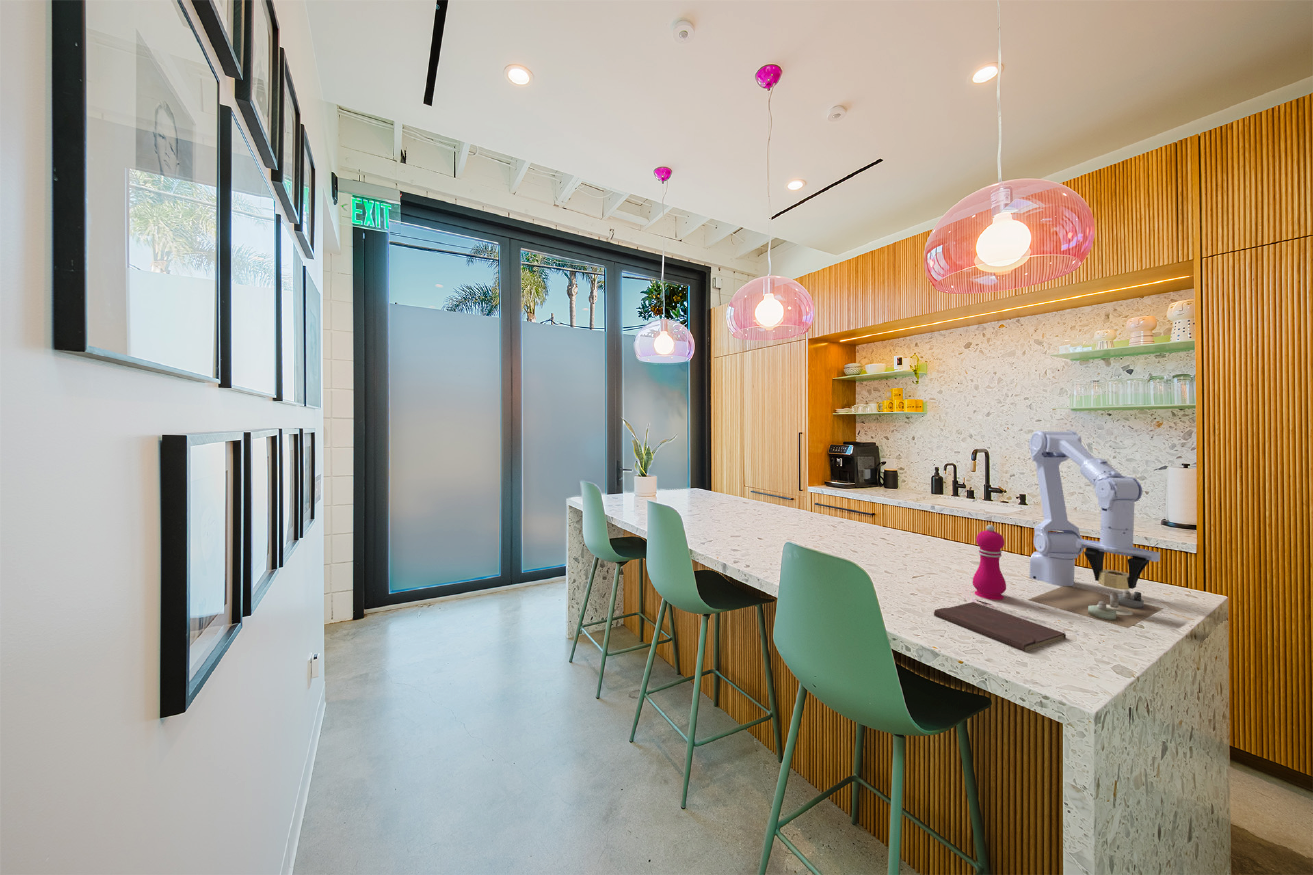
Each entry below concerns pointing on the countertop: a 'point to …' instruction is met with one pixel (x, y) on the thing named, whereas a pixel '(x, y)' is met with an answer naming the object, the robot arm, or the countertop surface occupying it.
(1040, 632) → the notebook
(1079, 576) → the countertop surface
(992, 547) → the pepper mill
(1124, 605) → the board
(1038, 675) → the countertop surface
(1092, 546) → the robot arm
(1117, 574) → the brass idler gear
